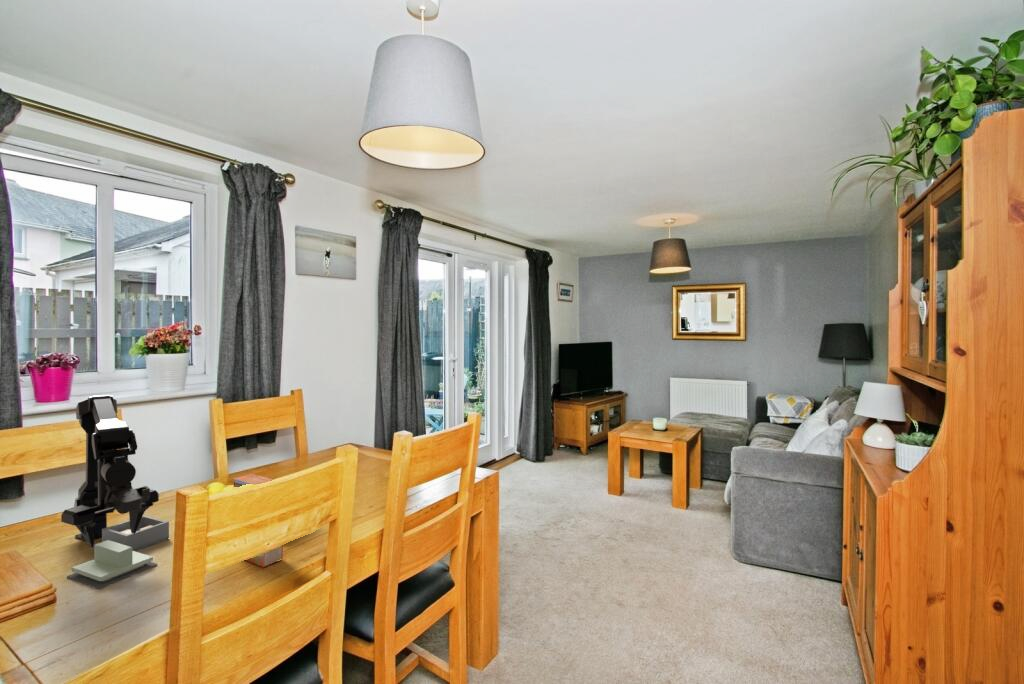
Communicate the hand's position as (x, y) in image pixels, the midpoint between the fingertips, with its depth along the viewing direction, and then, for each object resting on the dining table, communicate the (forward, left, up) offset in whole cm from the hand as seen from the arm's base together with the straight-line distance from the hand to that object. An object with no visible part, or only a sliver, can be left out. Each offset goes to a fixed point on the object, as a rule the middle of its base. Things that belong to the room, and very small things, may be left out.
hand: (113, 539), depth 125 cm
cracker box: (+25, +21, -8) cm, 34 cm away
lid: (0, 0, -8) cm, 8 cm away
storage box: (-13, +13, -8) cm, 19 cm away
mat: (0, 0, -8) cm, 8 cm away
